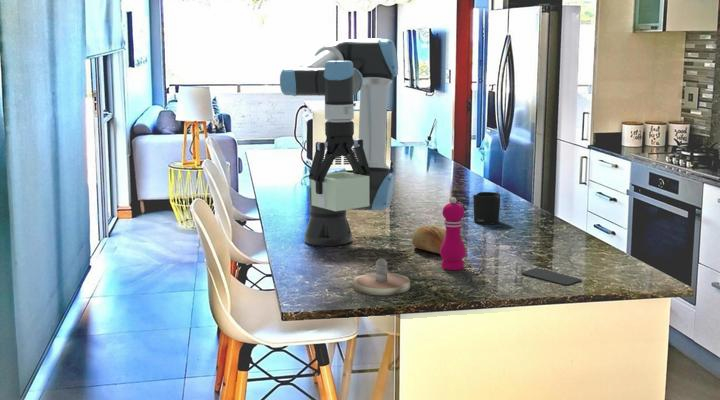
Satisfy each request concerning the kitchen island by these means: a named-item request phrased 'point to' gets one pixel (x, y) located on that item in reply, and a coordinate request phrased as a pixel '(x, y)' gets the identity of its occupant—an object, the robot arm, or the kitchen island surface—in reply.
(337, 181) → the square ring
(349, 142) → the robot arm
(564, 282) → the phone
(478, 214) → the pen holder
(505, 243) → the kitchen island surface
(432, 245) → the bread roll
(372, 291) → the post stand
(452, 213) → the pepper mill
